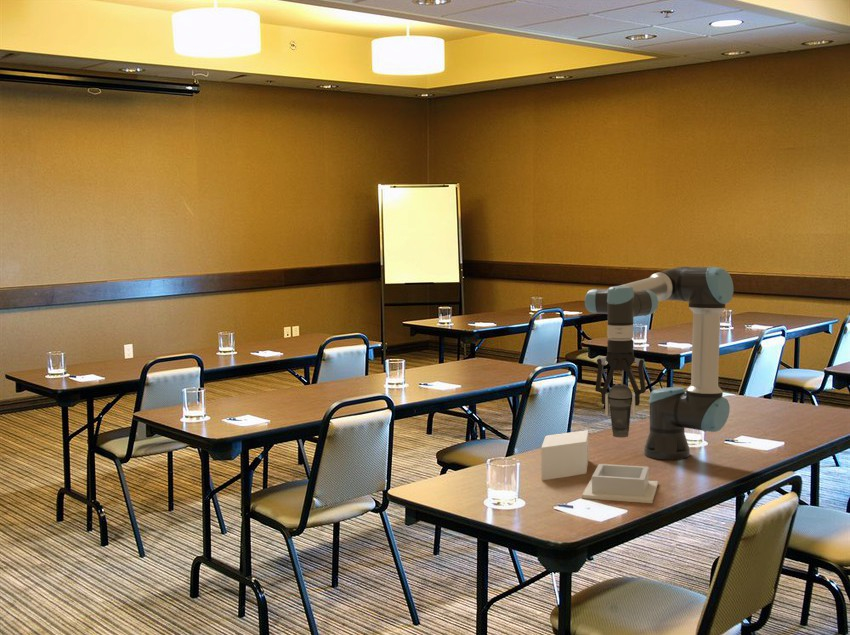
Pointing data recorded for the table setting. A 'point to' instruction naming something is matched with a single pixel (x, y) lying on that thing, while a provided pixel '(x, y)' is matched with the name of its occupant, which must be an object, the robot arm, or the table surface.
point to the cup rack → (621, 484)
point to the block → (564, 455)
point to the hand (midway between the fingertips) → (620, 415)
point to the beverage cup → (620, 408)
